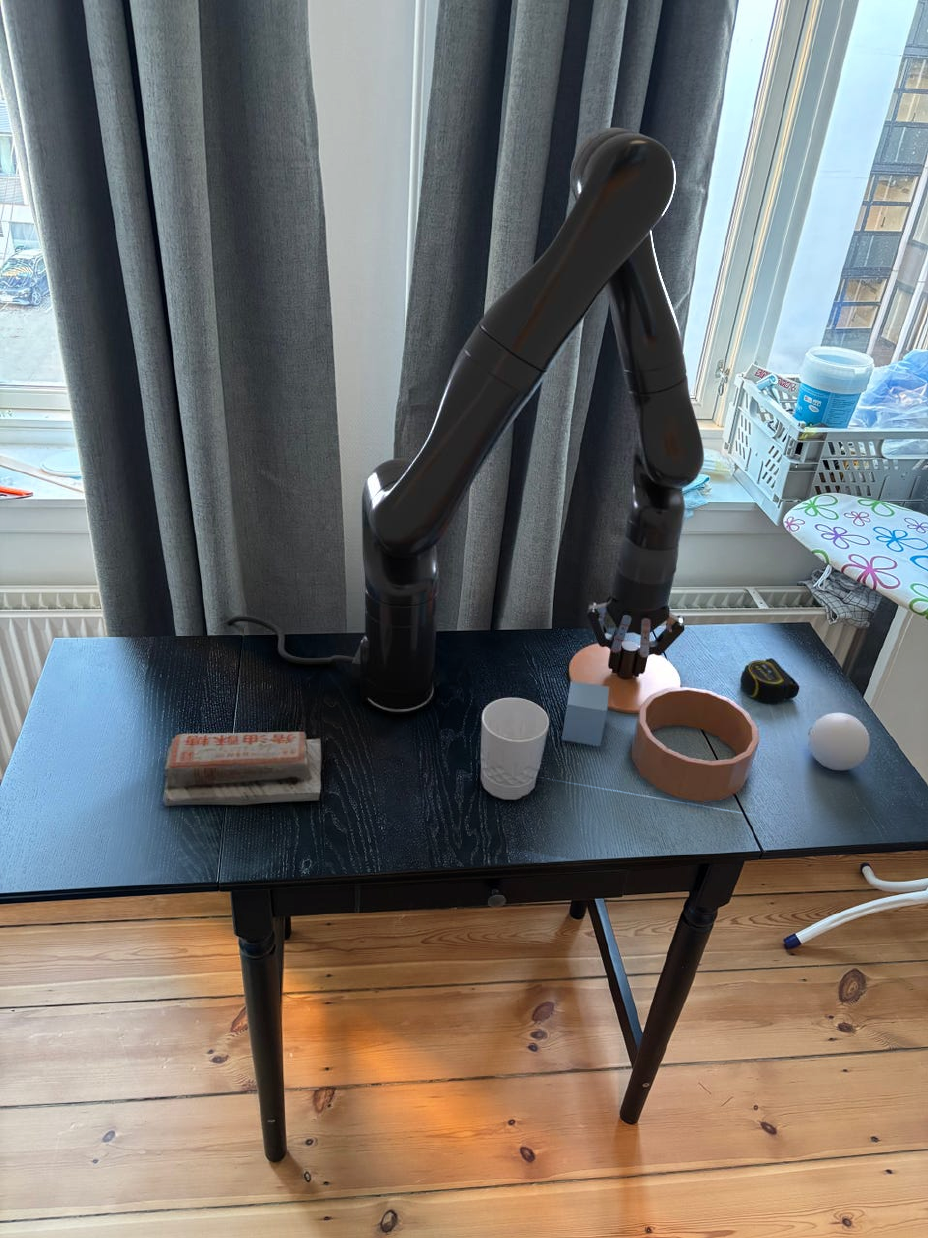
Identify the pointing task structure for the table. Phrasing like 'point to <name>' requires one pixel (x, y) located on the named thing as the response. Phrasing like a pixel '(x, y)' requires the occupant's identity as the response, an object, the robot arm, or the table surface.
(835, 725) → the white oval ball
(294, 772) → the packaged product
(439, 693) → the table surface
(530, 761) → the white cup
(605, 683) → the lid
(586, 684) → the block
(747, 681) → the tape measure
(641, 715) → the orange round container
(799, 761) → the table surface
